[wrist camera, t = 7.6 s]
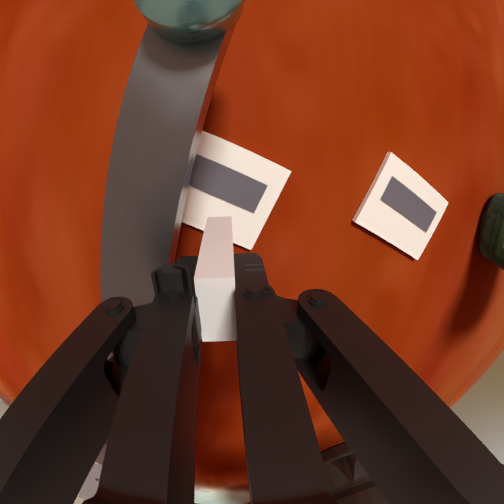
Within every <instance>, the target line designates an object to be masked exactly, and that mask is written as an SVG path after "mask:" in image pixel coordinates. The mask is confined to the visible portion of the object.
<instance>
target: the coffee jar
mask: <svg viewBox="0 0 504 504" xmlns="http://www.w3.org/2000/svg"><path fill="white" fill-rule="evenodd" d="M479 249H480V252H481V254H482V255H483V256H484V257H486V258H487V259H489V260H490V261H492V262H493V263H495V264H496V265H498V266H499V267H501V268H502V269H503V270H504V193H497V194H495V195H493V196H492V198H491V200H490V202H489V204H488V206H487V208H486V211H485V212H484V215H483V218H482V222H481V227H480V237H479Z"/></svg>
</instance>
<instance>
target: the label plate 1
mask: <svg viewBox="0 0 504 504" xmlns="http://www.w3.org/2000/svg"><path fill="white" fill-rule="evenodd" d="M290 173H291V171H290V170H288V169H286V168H284V167H282V166H280V165H278V164H276V163H274V162H272V161H270V160H268V159H265V158H263V157H261V156H259V155H257V154H255V153H253V152H251V151H248V150H246V149H244V148H242V147H240V146H237V145H235V144H233V143H231V142H228V141H226V140H224V139H222V138H219V137H217V136H214V135H212V134H210V133H207V132H205V131H202V133H201V137H200V141H199V145H198V149H197V153H196V157H195V162H194V166H193V170H192V175H191V179H190V183H189V188H188V193H187V198H186V202H185V207H184V212H183V217H182V222H183V223H185V224H188V225H190V226H193V227H195V228H198V229H200V230H203V231H204V229H205V225H206V221H207V217H226V216H232V235H233V243H235V244H237V245H240V246H242V247H245V248H247V249H249V250H251V249H252V247H253V245H254V243H255V241H256V240H257V238H258V236H259V234H260V232H261V230H262V228H263V226H264V224H265V222H266V220H267V218H268V216H269V214H270V212H271V210H272V208H273V206H274V204H275V202H276V200H277V199H278V197H279V195H280V193H281V191H282V189H283V187H284V185H285V183H286V181H287V179H288V177H289V175H290Z"/></svg>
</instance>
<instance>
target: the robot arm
mask: <svg viewBox="0 0 504 504" xmlns="http://www.w3.org/2000/svg"><path fill="white" fill-rule="evenodd" d="M151 278H152V283H153V288H154V293H155V296H154V299H153V301H152V302H151V303H149V304H145V305H140V306H135V307H133V303H132V301H131V300H130V299H129V298H126V297H111V298H109V299H107V300H105V301H103V302H102V303H101V304H99V305H98V306H97V307H96V308H95V309H94V310H93V311H92V312H91V313H90V314H89V316H88V317H87V318H86V319H85V320H84V321H83V322H82V323H81V324H80V325H79V326H78V327H77V328H76V329H75V330H74V331H73V332H72V333H71V335H70V336H69V337H68V338H67V339H66V340H65V341H64V342H63V343H62V344H61V346H60V347H59V348H58V349H57V350H56V351H55V352H54V353H53V354H52V356H51V357H50V358H49V359H48V360H47V361H46V363H45V364H44V365H43V366H42V367H41V368H40V370H39V371H38V372H37V373H36V374H35V375H34V377H33V378H32V379H31V380H30V382H29V383H28V384H27V385H26V386H25V388H24V389H23V390H22V391H21V393H20V394H19V395H18V396H17V398H16V399H15V400H14V402H13V403H12V404H11V405H10V407H9V408H8V409H7V411H6V412H5V413H4V415H3V416H2V418H1V419H0V504H73V503H74V501H75V499H76V497H77V495H78V493H79V491H80V489H81V488H82V486H83V484H84V482H85V480H86V478H87V476H88V474H89V472H90V470H91V468H92V467H93V465H94V463H95V461H96V459H97V457H98V455H99V453H100V452H101V450H102V448H103V446H104V444H105V442H106V441H107V439H108V437H109V439H108V443H107V447H106V451H105V456H104V460H103V465H102V469H101V474H100V479H99V484H98V489H97V492H96V494H95V495H94V496H93V497H91V498H89V499H87V500H85V501H84V502H83V503H82V504H194V483H195V449H196V427H197V409H198V393H199V379H200V366H201V354H202V350H201V344H200V341H201V336H202V342H209V341H236V342H237V361H238V372H239V385H240V397H241V410H242V421H243V432H244V443H245V454H246V464H247V474H248V483H249V493H250V502H251V504H504V465H503V464H501V463H500V462H499V461H498V460H497V459H496V457H495V456H494V455H493V454H492V453H491V452H490V451H489V450H488V449H487V447H486V446H485V445H484V444H482V442H481V441H480V440H479V439H478V438H477V437H476V435H475V434H473V432H472V431H471V430H470V429H469V428H468V427H467V426H466V425H465V424H464V423H463V422H462V421H461V419H460V418H459V417H458V416H457V415H456V414H454V412H453V411H452V410H451V409H450V408H449V407H448V406H447V405H446V404H445V403H444V402H443V401H442V400H441V399H440V398H439V397H438V396H437V395H436V394H435V393H434V392H433V390H432V389H431V388H430V387H429V386H428V385H427V384H426V383H425V382H424V381H423V380H422V379H421V378H420V377H419V376H418V375H417V374H416V373H415V372H414V371H413V370H412V369H411V368H410V367H409V366H408V365H407V364H406V363H405V362H404V361H403V360H402V359H401V358H400V357H399V356H398V355H397V354H396V353H395V352H394V351H393V350H391V349H390V348H389V347H388V346H387V345H386V344H385V343H384V342H383V341H382V340H381V339H380V338H379V337H378V336H377V335H376V334H375V333H374V332H373V331H372V330H371V329H370V328H369V327H368V326H367V325H366V324H365V323H364V322H363V321H362V320H361V319H359V318H358V317H357V316H356V315H355V314H354V313H353V312H352V311H351V310H350V309H349V308H348V307H347V306H346V305H345V304H344V303H343V302H342V301H341V300H339V299H338V298H337V297H336V296H335V295H334V294H332V293H331V292H328V291H325V290H321V289H311V290H307V291H304V292H302V293H301V294H300V295H299V298H298V300H292V299H286V298H282V297H279V296H277V295H276V294H275V291H274V290H273V288H272V287H271V286H269V284H268V280H267V276H266V273H265V270H264V265H263V261H262V258H261V257H260V256H259V255H257V254H256V253H242V254H233V235H232V216H226V217H207V221H206V225H205V229H204V234H203V238H202V243H201V247H200V252H199V256H184V257H180V258H179V259H178V260H176V261H175V263H174V264H167V265H163V266H160V267H158V268H156V269H154V270H153V271H152V272H151ZM111 352H112V354H113V356H112V357H111V358H110V359H109V360H108V359H107V357H108V356H109V355H110V353H111ZM298 371H299V373H300V374H301V376H302V377H303V379H304V380H305V382H306V384H307V385H308V387H309V388H310V390H311V391H312V393H313V394H314V396H315V397H316V399H317V400H318V402H319V403H320V405H321V406H322V408H323V409H324V411H325V412H326V414H327V415H328V417H329V418H330V420H331V421H332V423H333V424H334V426H335V427H336V429H337V430H338V432H339V433H340V435H341V436H342V438H343V439H344V441H345V442H346V443H343V444H340V445H337V446H335V447H332V448H330V449H328V450H326V451H323V452H320V448H319V445H318V441H317V437H316V434H315V430H314V427H313V423H312V420H311V416H310V412H309V409H308V405H307V402H306V398H305V395H304V391H303V388H302V384H301V381H300V377H299V374H298Z"/></svg>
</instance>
